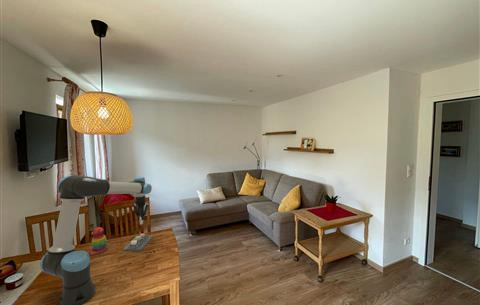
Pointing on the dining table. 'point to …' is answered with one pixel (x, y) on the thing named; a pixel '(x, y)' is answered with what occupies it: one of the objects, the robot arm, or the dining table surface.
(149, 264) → the dining table surface
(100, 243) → the stacking bear
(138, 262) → the dining table surface
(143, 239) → the board
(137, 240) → the button two
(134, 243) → the button one
